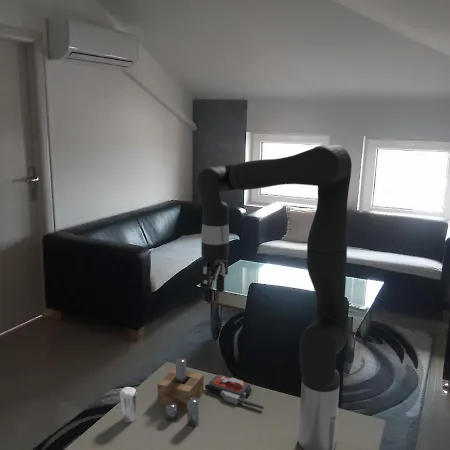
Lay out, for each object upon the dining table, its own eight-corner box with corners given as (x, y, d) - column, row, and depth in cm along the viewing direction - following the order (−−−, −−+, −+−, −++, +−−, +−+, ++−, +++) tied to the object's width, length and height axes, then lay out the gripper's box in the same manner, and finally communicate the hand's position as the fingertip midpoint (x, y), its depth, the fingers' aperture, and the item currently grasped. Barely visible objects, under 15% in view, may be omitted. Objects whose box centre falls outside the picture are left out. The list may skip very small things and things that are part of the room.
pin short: (178, 416, 135) (178, 403, 134) (173, 422, 132) (173, 409, 131) (169, 414, 136) (168, 401, 135) (163, 420, 133) (163, 407, 132)
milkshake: (131, 427, 129) (130, 393, 127) (116, 420, 132) (115, 387, 130) (143, 418, 133) (142, 385, 131) (128, 412, 136) (127, 380, 134)
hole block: (203, 392, 146) (203, 374, 145) (189, 410, 137) (189, 391, 136) (173, 385, 150) (173, 367, 149) (157, 402, 141) (157, 384, 139)
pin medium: (200, 422, 132) (200, 398, 131) (195, 428, 130) (195, 404, 128) (190, 419, 133) (190, 396, 132) (185, 425, 131) (185, 402, 129)
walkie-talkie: (200, 394, 146) (261, 414, 137) (200, 381, 145) (262, 400, 136) (215, 380, 154) (274, 398, 144) (215, 368, 153) (274, 385, 143)
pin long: (187, 396, 144) (187, 359, 142) (183, 401, 142) (183, 363, 139) (178, 393, 146) (178, 357, 143) (174, 399, 143) (173, 361, 140)
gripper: (218, 247, 125) (217, 307, 128) (237, 235, 138) (235, 289, 141) (191, 244, 127) (191, 302, 131) (212, 232, 140) (212, 286, 144)
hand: (214, 296), depth 136 cm, fingers open, 8 cm apart
